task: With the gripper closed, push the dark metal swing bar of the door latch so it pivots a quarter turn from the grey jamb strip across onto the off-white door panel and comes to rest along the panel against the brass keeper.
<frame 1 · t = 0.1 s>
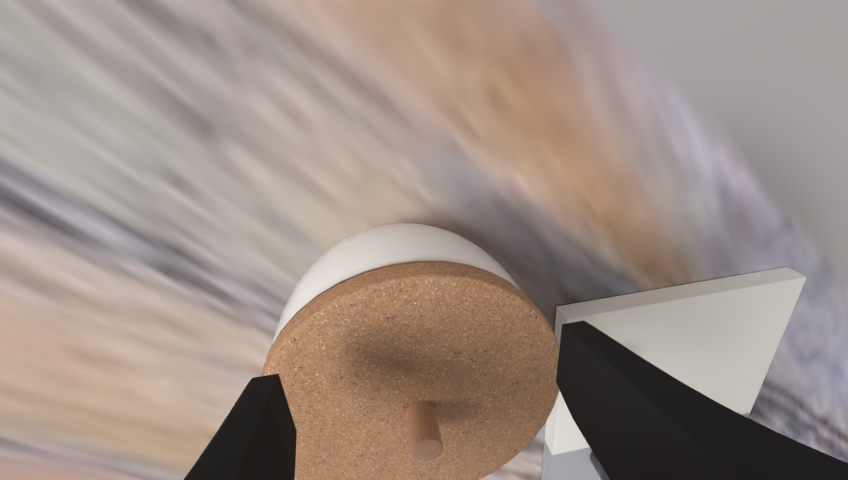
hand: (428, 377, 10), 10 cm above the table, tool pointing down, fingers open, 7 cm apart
lidded jar: (394, 284, 21), on the table
door board: (649, 394, 29), on the table
swing bar: (674, 459, 27), point 3 cm above the table, hinge at 0.0°
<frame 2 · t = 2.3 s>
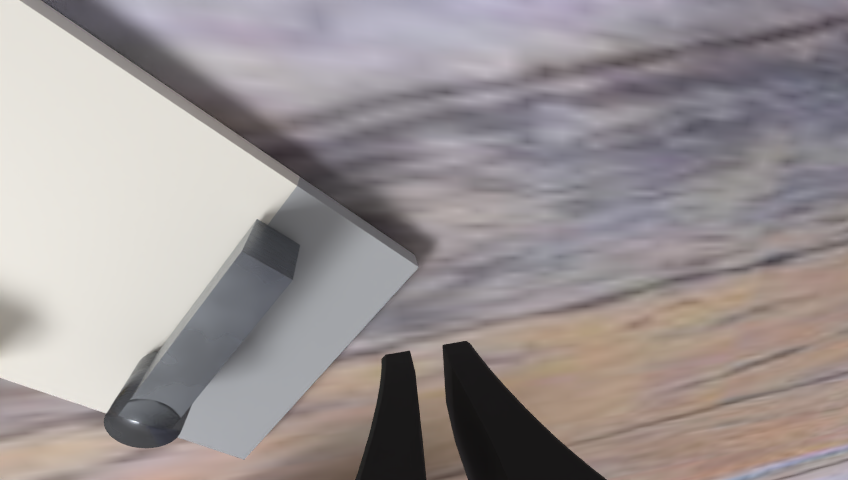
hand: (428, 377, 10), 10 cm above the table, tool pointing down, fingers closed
door board: (154, 271, 18), on the table
swing bar: (203, 338, 17), point 3 cm above the table, hinge at 0.0°
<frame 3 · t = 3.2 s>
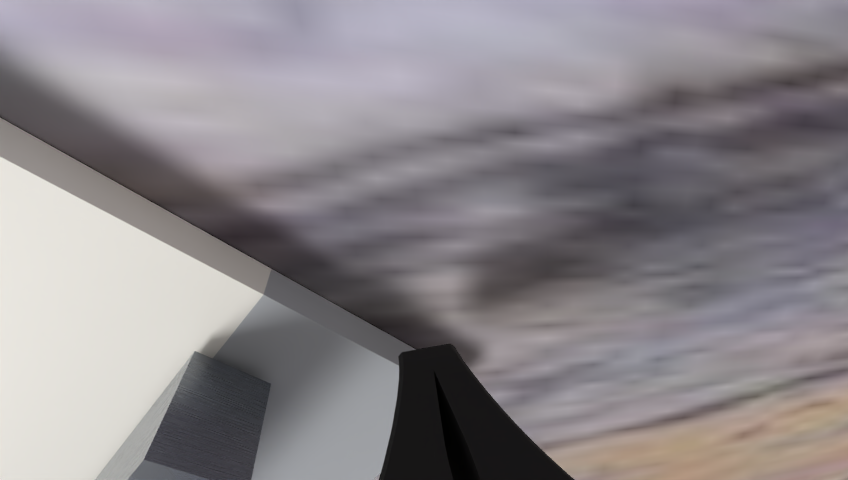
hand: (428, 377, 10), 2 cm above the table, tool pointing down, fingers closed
door board: (41, 414, 11), on the table
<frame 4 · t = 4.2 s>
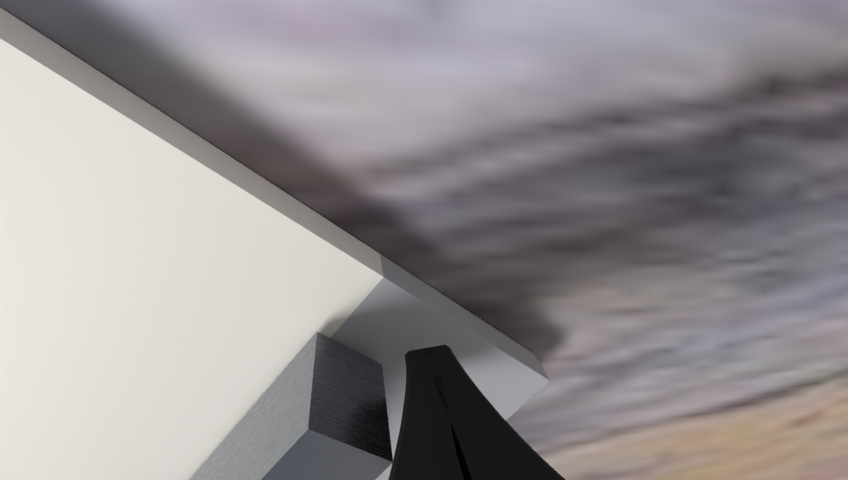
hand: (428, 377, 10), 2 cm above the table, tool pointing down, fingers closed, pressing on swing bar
door board: (149, 396, 12), on the table
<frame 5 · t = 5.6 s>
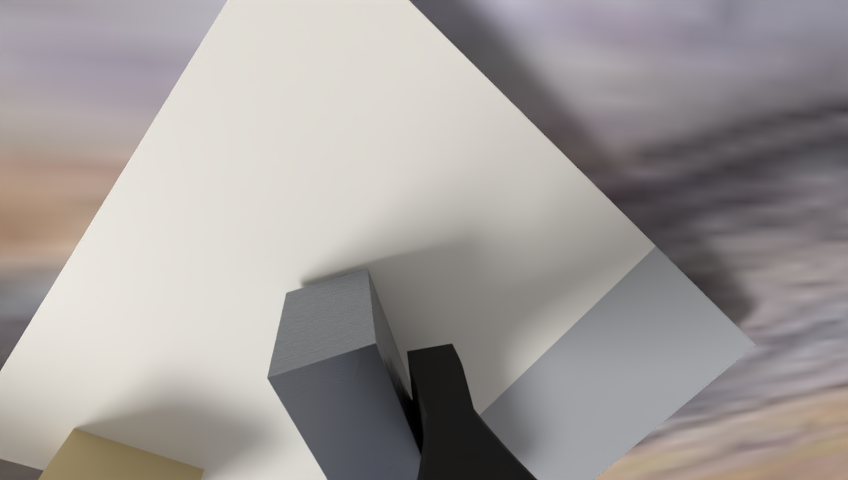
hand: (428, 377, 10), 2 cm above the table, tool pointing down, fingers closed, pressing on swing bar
door board: (411, 360, 13), on the table
swing bar: (394, 466, 11), point 3 cm above the table, hinge at 54.9°, touching gripper
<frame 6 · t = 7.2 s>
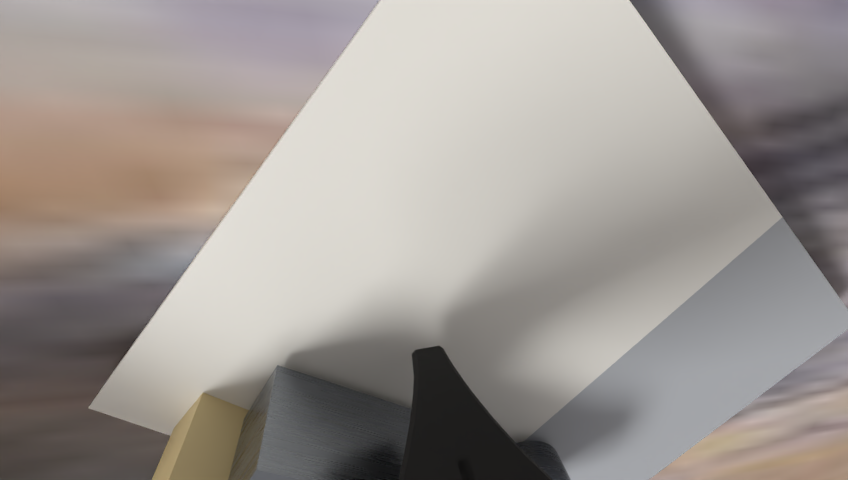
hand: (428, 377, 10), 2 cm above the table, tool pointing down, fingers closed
door board: (517, 332, 13), on the table
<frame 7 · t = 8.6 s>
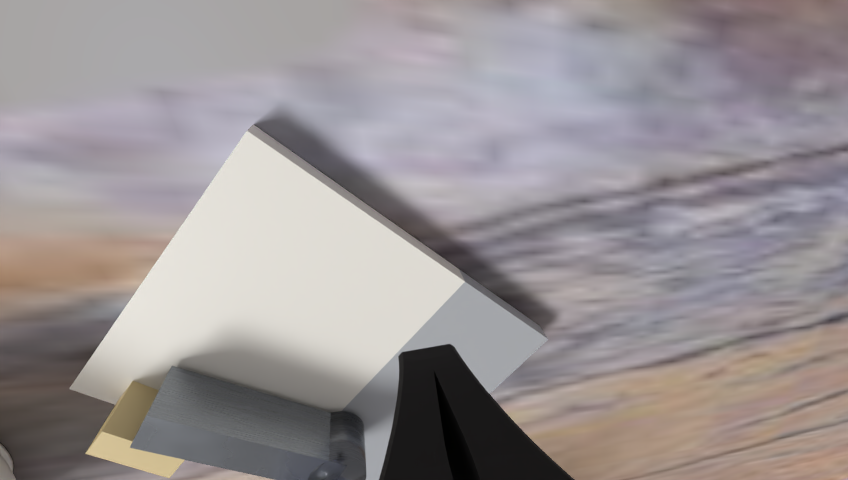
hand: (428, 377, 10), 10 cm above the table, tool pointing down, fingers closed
door board: (331, 345, 22), on the table
swing bar: (267, 434, 20), point 3 cm above the table, hinge at 97.7°
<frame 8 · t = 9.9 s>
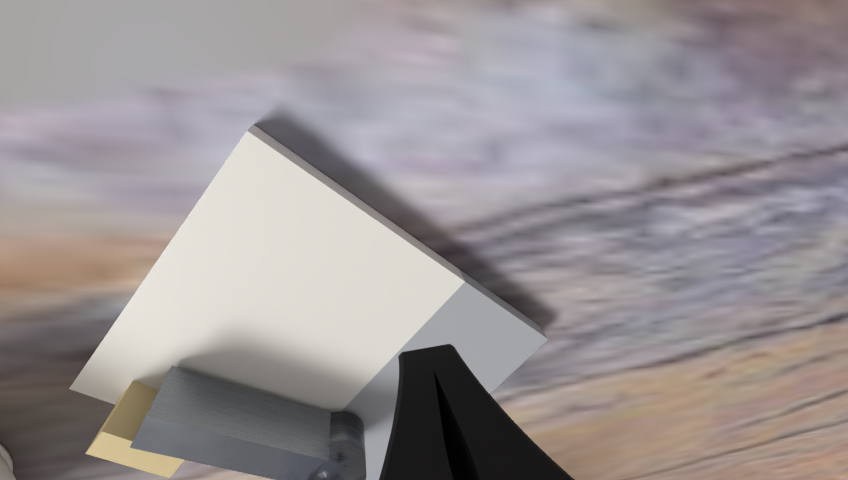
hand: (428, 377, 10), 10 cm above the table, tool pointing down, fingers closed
door board: (331, 345, 22), on the table
swing bar: (267, 434, 20), point 3 cm above the table, hinge at 97.7°
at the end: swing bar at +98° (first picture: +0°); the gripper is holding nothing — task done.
